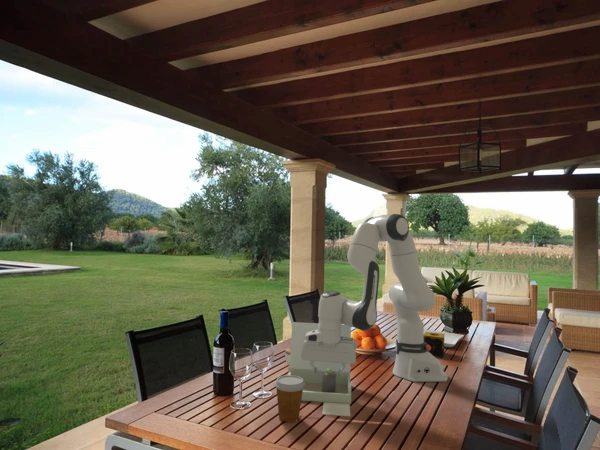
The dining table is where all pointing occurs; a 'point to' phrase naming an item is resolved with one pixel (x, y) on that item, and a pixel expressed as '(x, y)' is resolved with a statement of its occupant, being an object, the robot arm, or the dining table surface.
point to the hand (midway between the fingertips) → (327, 373)
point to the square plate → (448, 338)
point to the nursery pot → (329, 381)
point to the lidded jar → (288, 355)
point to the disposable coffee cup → (289, 397)
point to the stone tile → (336, 409)
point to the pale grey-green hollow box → (318, 368)
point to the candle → (435, 343)
